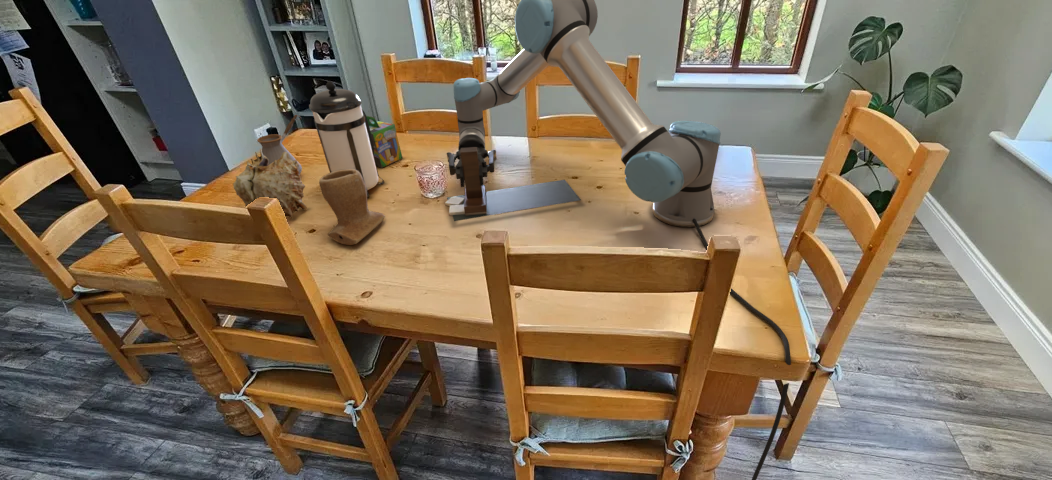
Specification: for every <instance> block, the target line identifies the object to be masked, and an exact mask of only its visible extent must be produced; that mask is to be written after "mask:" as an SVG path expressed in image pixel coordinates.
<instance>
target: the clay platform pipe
mask: <svg viewBox="0 0 1052 480" xmlns="http://www.w3.org/2000/svg"><path fill="white" fill-rule="evenodd" d="M318 184H319V188H320V191H321V195H322V197H323V198H324V200H325V201H326V203H327V204H328V205H329V207H330V209H331V210H332V211H333V214H334V215H335V217H336V219H337V220H336V221H337V223H336V225H335V226H334V227H333V228H332V229H331V230H330V231H329V232H328V233H327V237H329V238H330V239H333V241H336V242H337V243H338V244H341V245H345V246H346V245H347V246H352V245H356V244H358V243H359V242H360V241H362V240H363V239H364V238H366V237H367V236H368V235H369V234H370V233H371V232H372V231H373V230H375V229H376V228H377V227H378V226H379V225H380V224H381V223H382V222H383V221H384V219H385V217H386V215H385V213H383V212H379V211H373V210H369V207H368V198H367V191H368V190H366V185H365V182H364V180H363V178H362V175H361V173H360V172H359V171H357V170H355V169H345V170H339V171H335V172H331V173H330V172H328V173H326V174H325V175H323V176H321V177H320V178H319V181H318Z"/></svg>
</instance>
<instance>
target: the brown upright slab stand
mask: <svg viewBox="0 0 1052 480" xmlns="http://www.w3.org/2000/svg"><path fill="white" fill-rule="evenodd" d="M460 153H461V160H462V167H463V174H464V191H463V192H464V194H463V195H464V211H465V216H468V215H479V214H487V205H486V191H487V190H486V189H487V188H486V185H485V184H483V186H480V178H479V161H478V153H477V147H468V148H461V151H460Z"/></svg>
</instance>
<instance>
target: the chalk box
mask: <svg viewBox="0 0 1052 480" xmlns="http://www.w3.org/2000/svg"><path fill="white" fill-rule="evenodd" d="M366 117H367V120H368V124H369V128H370V132H371V136H372V140H373V145H374V159H375V163H376V167H377V168H380V169H383V168H385V167H386V166H389V165H391V164H393V163H395V162H397V161H400V160H402V159H403V153H402V149H401V145H400V141H399V137H398V133H397V129H396V124H395V123H391V122H386V121H380V120H377V119H376V117H374V116H370V115H366ZM370 120H371V121H370Z"/></svg>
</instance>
